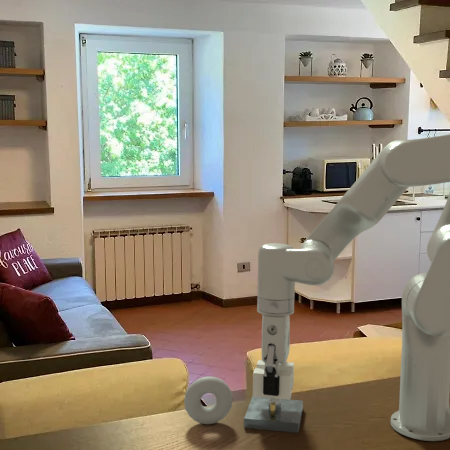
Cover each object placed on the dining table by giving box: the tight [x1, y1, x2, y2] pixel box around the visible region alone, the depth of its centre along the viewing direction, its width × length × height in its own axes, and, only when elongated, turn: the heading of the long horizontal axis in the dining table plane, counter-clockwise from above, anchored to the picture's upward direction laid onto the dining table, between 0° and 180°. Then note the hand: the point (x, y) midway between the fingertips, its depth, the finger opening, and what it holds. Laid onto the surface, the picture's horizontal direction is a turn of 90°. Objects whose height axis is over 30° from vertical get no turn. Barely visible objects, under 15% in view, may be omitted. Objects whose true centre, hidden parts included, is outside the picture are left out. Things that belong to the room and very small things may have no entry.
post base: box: [243, 395, 304, 434], centre depth 131 cm, size 11×11×6 cm
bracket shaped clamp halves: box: [252, 359, 295, 400], centre depth 131 cm, size 8×8×5 cm
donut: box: [183, 376, 234, 425], centre depth 129 cm, size 10×4×10 cm, turn 98°
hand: (273, 386), depth 131 cm, fingers closed on bracket shaped clamp halves, 7 cm apart
